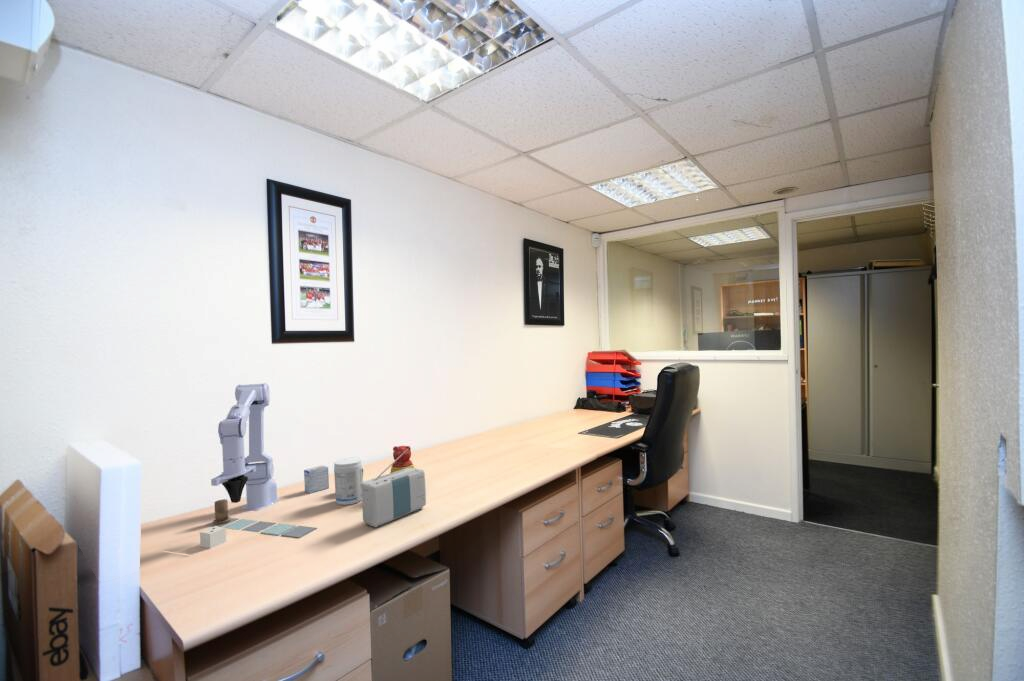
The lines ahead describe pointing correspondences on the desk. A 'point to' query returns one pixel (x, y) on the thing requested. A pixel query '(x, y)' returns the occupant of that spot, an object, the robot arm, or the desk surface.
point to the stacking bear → (401, 458)
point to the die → (212, 537)
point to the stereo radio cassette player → (393, 495)
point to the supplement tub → (348, 480)
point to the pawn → (221, 512)
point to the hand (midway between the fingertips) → (235, 501)
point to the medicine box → (316, 479)
